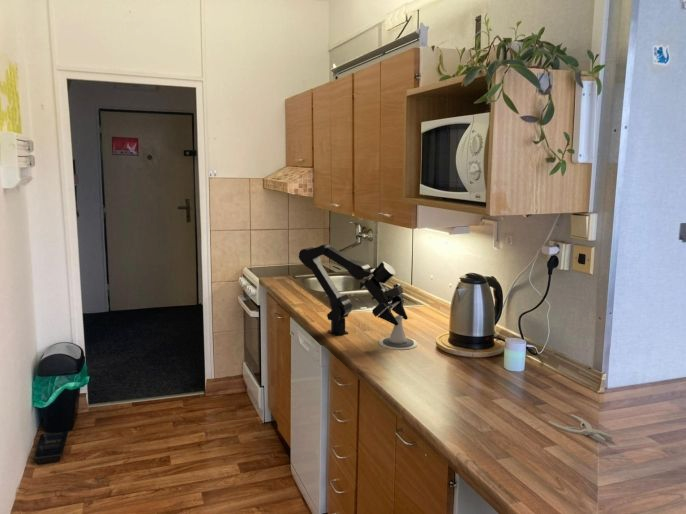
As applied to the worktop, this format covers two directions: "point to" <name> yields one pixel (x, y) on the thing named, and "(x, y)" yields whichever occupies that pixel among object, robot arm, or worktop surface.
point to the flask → (398, 332)
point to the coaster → (396, 346)
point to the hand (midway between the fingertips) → (402, 321)
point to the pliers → (585, 430)
